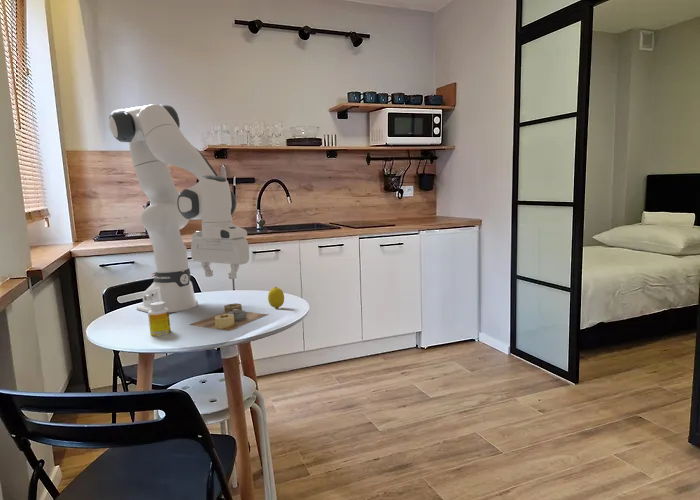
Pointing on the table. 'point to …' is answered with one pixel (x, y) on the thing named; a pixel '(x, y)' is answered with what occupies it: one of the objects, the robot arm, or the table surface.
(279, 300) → the lemon
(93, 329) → the table surface
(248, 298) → the table surface
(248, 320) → the plate
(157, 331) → the supplement bottle
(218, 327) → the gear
